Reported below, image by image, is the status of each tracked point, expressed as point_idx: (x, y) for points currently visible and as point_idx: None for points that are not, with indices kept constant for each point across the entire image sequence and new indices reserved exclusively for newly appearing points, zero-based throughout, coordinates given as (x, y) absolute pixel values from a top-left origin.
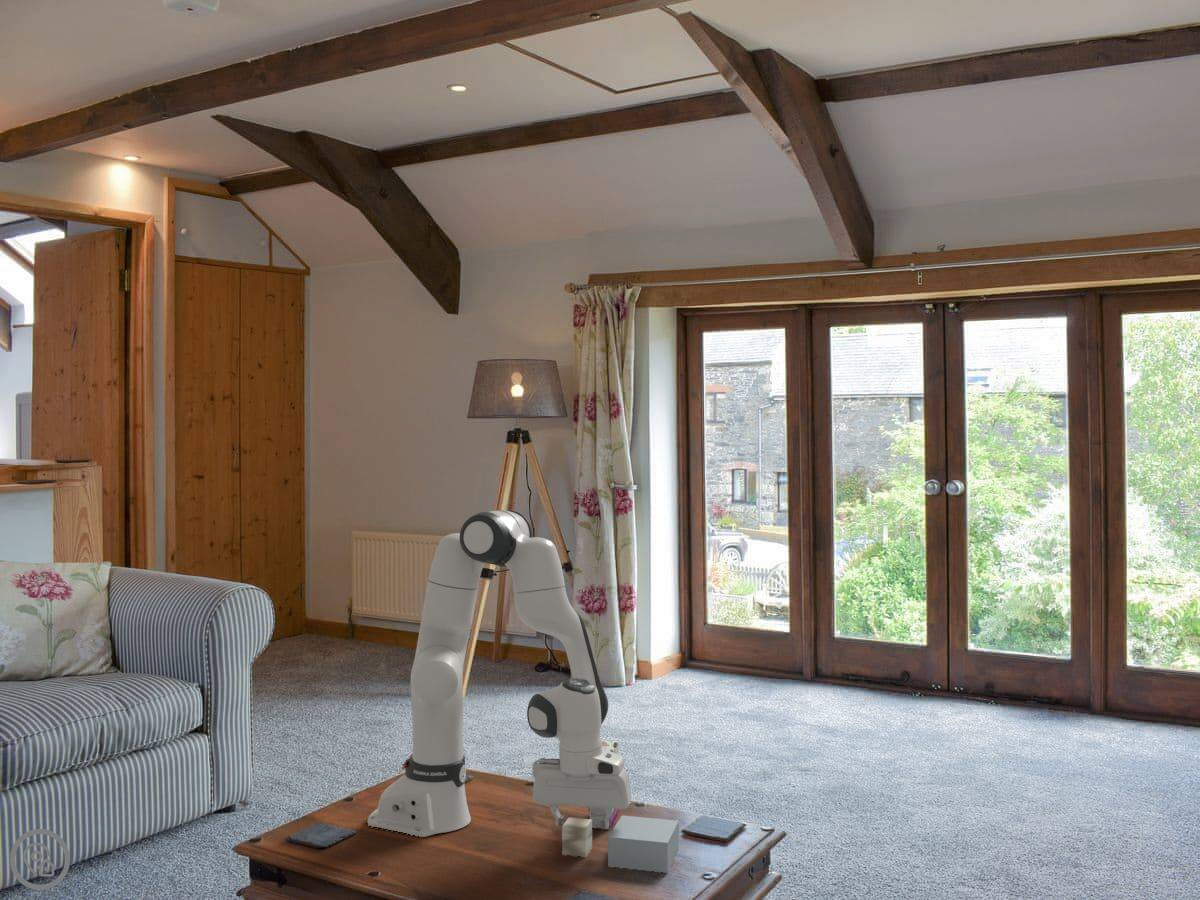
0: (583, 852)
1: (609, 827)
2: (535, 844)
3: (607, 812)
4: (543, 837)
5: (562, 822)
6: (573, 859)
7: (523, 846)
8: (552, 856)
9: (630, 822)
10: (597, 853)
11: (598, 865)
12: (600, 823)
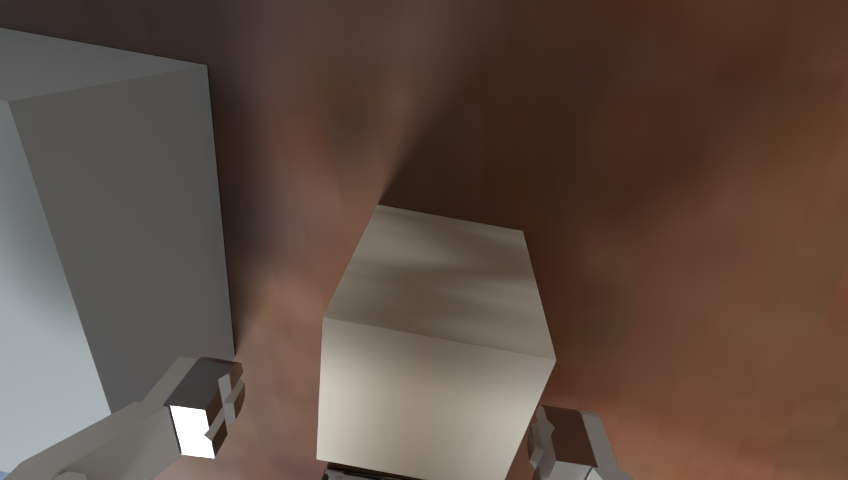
0: (386, 219)
1: (323, 477)
2: (673, 350)
3: (64, 477)
4: (620, 417)
5: (548, 433)
6: (448, 170)
7: (750, 328)
8: (584, 207)
9: (20, 409)
10: (323, 257)
11: (274, 87)
12: (218, 391)
